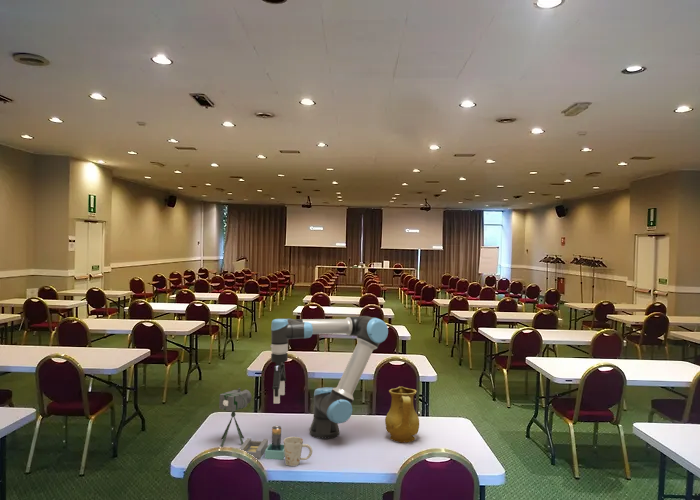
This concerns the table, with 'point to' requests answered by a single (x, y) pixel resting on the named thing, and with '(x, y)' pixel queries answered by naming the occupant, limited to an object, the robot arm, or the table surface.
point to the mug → (294, 450)
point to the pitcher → (402, 416)
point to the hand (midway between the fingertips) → (279, 399)
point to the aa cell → (276, 438)
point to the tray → (274, 453)
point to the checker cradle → (255, 447)
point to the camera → (234, 407)
